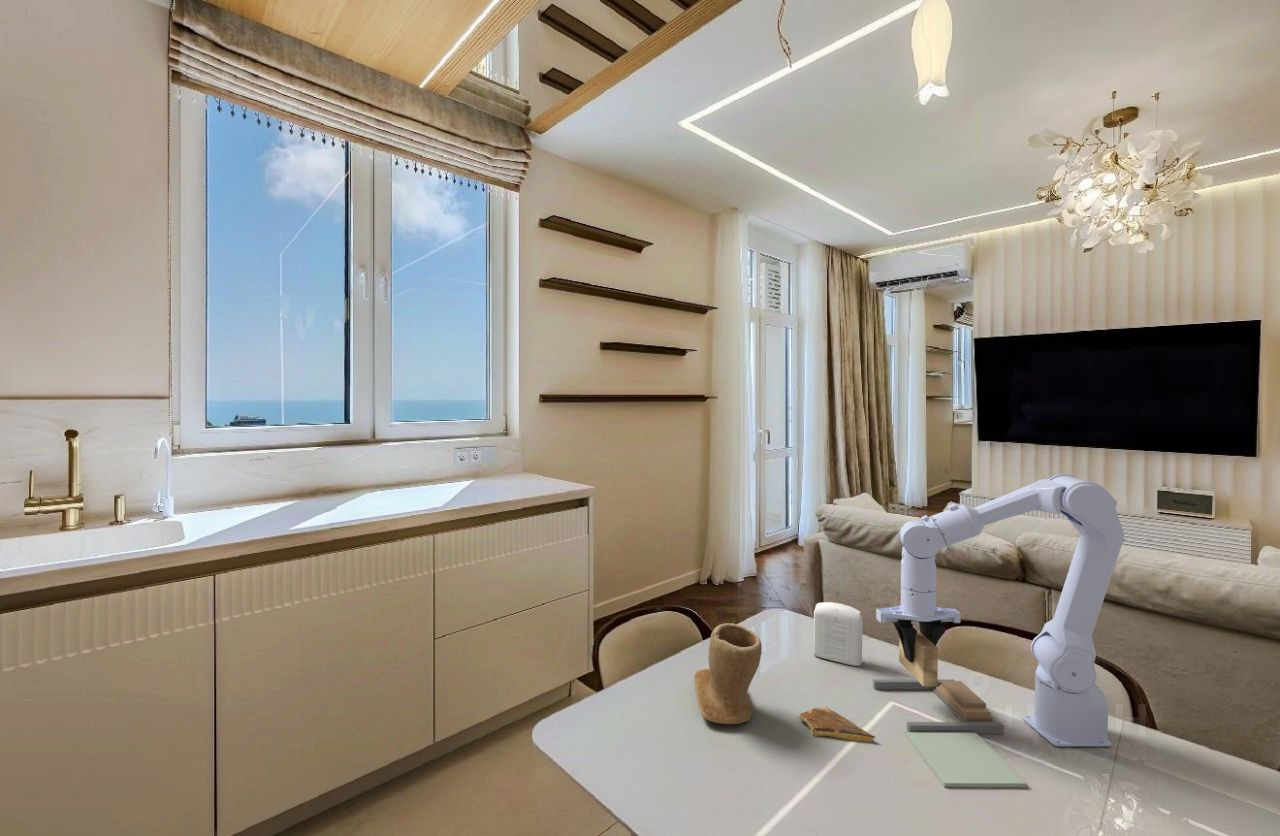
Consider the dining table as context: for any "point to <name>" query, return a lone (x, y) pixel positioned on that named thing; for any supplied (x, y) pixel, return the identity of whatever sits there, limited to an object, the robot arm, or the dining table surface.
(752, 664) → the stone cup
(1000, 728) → the offcut rack
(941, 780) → the sage mat
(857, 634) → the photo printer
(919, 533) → the robot arm
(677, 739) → the dining table surface
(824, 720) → the shard
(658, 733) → the dining table surface
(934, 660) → the oak block
